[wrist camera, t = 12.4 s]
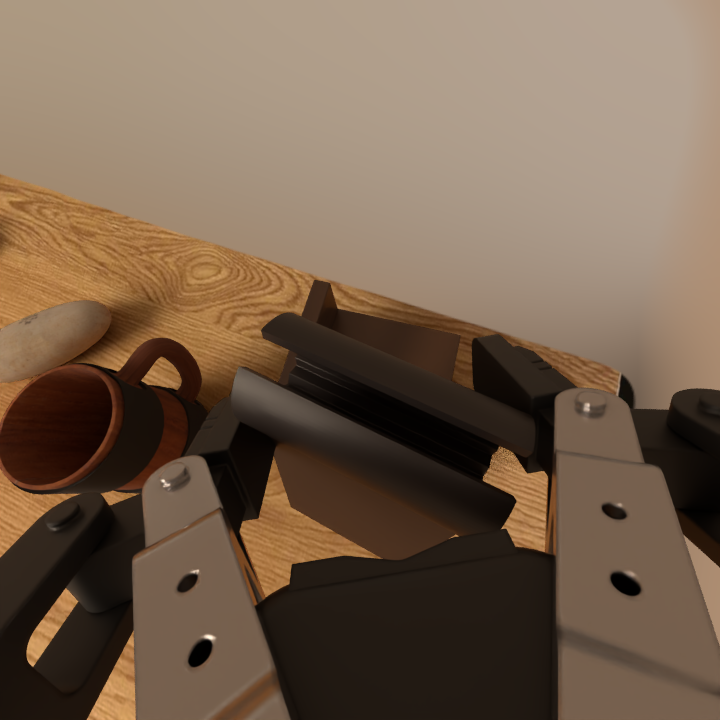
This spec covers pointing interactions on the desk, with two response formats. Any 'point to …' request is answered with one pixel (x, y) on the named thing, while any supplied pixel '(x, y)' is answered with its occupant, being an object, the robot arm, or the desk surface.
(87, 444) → the mug
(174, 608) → the robot arm
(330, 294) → the shelf
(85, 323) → the stone
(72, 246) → the desk surface
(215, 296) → the desk surface
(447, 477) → the phone stand
